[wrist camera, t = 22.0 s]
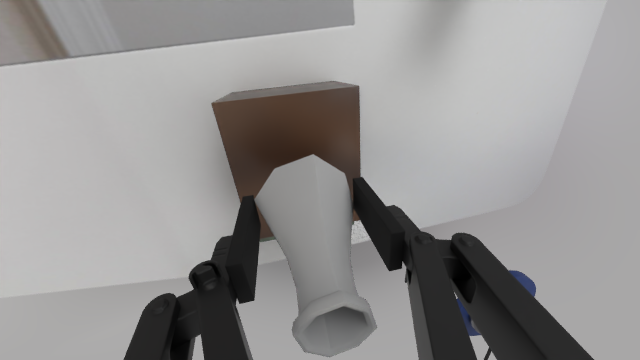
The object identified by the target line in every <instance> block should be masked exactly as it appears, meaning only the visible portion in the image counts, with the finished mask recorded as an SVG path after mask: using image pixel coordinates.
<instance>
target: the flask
mask: <svg viewBox="0 0 640 360" xmlns="http://www.w3.org/2000/svg"><path fill="white" fill-rule="evenodd" d="M254 201H255V202H256V204H257V206H258V208H259V210H260V212H261V213H262V215H263V217H264V219H265V221H266V223H267V224H268V226H269V228H270V230H271V232H272V233H273V235H274V237H275V238H276V240H277V242H278V243H279V245H280V247H281V249H282V250H283V252H284V254H285V256H286V258H287V260H288V264H289V266H290V270H291V273H292V276H293V280H294V282H295V286H296V291H297V300H298V308H299V315H298V317H297V318H296V319H295V321H294V322H293V327H292V332H293V336H294V338H295V339H296V341H297V342H298V344H299V345H300V346H301V348H302V349H303V351H304V352H308V353H312V354H317V355H322V356H326V357H331V356H334V355H337V354H339V353H341V352H344V351H347V350H349V349H352V348H355V347H357V346H359V345H360V344H361V343H362V342H363V341H364V340H365V339H366V338H367V337H368V336H369V335H370V334H371V333H372V332H373V331H374V330H375V329H376V328H377V325H376V322H375V320H374V317H373V314H372V311H371V308H370V306H369V303H368V302H367V301H366V299H364V298H362V297H359V295H358V293H357V290H356V287H355V284H354V278H353V271H352V265H351V259H350V254H351V230H352V220H353V211H354V203H353V199H352V196H351V193H350V189H349V186H348V183H347V179H346V176H345V173H343V172H341V171H340V170H338V169H337V168H335V167H333V166H332V165H330V164H328V163H327V162H325V161H323V160H322V159H320V158H319V157H317V156H315V155H314V154H312V155H310V156H307V157H304V158H302V159H299V160H296V161H294V162H291V163H288V164H286V165H283V166H280V167H277V168H275V169H274V170H273V172H272V173H271V175H270V176H269V178H268V179H267V181H266V182H265V184H264V185H263V187H262V189H261V190H260V192H259V193H258V195H257V196H256V198H255V199H254Z"/></svg>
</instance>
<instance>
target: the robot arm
mask: <svg viewBox="0 0 640 360" xmlns="http://www.w3.org/2000/svg"><path fill="white" fill-rule="evenodd" d="M353 203H354V210H355V212H356V213H357V215H358V217H359V219H360V220H361V222H362V224H363V226H364V228H365V229H366V231H367V233H368V235H369V236H370V238H371V240H372V242H373V244H374V245H375V247H376V249H377V251H378V252H379V254H380V256H381V258H382V259H383V261H384V263H385V265H386V267H387V268H388V270H389V271H392V270H397V269H401V268H402V261H403V262H404V264H405V265H406V277H405V283H408V290H409V297H410V304H411V310H412V317H413V324H414V330H415V337H416V344H417V350H418V357H419V360H477V358H476V355H475V352H474V349H473V346H472V343H471V340H470V337H469V334H468V331H467V328H466V326H465V323H464V320H463V317H462V314H461V311H460V308H459V305H458V302H457V299H456V296H455V294H456V295H457V297H458V298H459V300H460V302H461V303H462V305H463V306H464V308H465V310H466V311H467V313H468V314H469V323H470V324H471V325H472V327H473V328H474V329H475V330H476V331H477V332H478V333H479V334H481V335H482V336H483V338H484V340H485V341H486V343H487V344H488V346H489V349H488V351H487V354H486V356H485V358H484V360H488V358H489V355H490V353H491V351H492V352H493V354H494V355H495V357H496V359H497V360H594V359H593V358H592V357H591V356H590V355H589V354H588V353H587V352H586V351H585V350H584V349H583V348H582V347H581V346H580V345H579V344H578V343H577V341H576V340H575V339H574V338H573V337H572V336H571V335H570V334H569V333H568V332H567V331H566V330H565V329H564V328H563V327H562V326H561V325H560V324H559V323H558V322H557V321H556V320H555V319H554V318H553V316H551V314H550V313H549V312H548V311H547V310H546V309H545V308H544V307H543V306H542V305H541V304H540V303H539V302H538V301H537V300H536V299H535V298H534V297H533V296H532V295H531V294H530V292H529V291H528V290H527V289H526V288H525V287H524V286H523V285H522V284H521V283H520V282H519V281H518V280H517V279H516V278H515V277H514V276H513V275H512V274H511V273H510V272H509V271H508V270H507V269H506V267H505V266H504V265H502V263H501V262H500V261H499V260H498V259H497V258H496V257H495V256H494V255H493V254H492V253H491V252H490V251H489V250H488V249H487V248H486V247H485V246H484V245H483V244H482V242H481V241H480V240H478V239H477V238H476V237H474V236H472V235H470V234H466V233H456V234H454V235H453V236H452V239H451V240H439V239H435V238H434V237H433V236H432V235H431V234H429V233H426V232H421V231H420V230H419V229H418V227H417V226H416V225H415V224H414V223H413V222H412V221H411V220H410V219H409V217H408V216H407V215H405V213H404V212H403V211H402V210H401V209H400V208H398V207H397V206H395V205H392V206H387V207H386V206H385V205H384V203H383V202H382V201H381V200H380V198H379V197H378V196H377V195H376V193H375V192H374V191H373V190H372V188H371V187H370V186H369V185H368V184H367V182H366V181H365V180H364V179H363V177H359V178H353ZM260 231H261V223H260V219H259V215H258V211H257V207H256V204H255V201H254V196H253V195H250V196H244V197H242V201H241V205H240V209H239V213H238V217H237V221H236V225H235V228H234V232H233V235H231V236H226V237H222V238H221V239H220V240H219V241H218V242H217V243H216V246H215V249H214V252H213V255H212V258H211V260H208V261H205V262H202V263H200V264H198V265H197V266H196V267H194V268H193V269H192V271H191V272H190V274H189V280H190V282H191V284H192V286H193V288H194V289H193V290H192V291H190V292H188V293H186V294H184V295H181V296H179V297H177V298H176V296H175V295H174V294H171V293H167V294H163V295H160V296H158V297H156V298H155V299H154V300H152V301H151V302H150V303H149V304H148V305H147V306H146V307H145V309H144V310H143V312H142V315H141V317H140V320H139V322H138V325H137V327H136V330H135V333H134V335H133V338H132V340H131V343H130V345H129V347H128V350H127V352H126V355H125V358H124V360H192V356H193V349H194V343H195V337H196V336H198V335H200V334H201V338H202V346H203V353H204V360H253V358H252V355H251V352H250V349H249V345H248V342H247V339H246V336H245V333H244V330H243V326H242V323H241V320H240V317H239V313H238V310H237V308H236V299H238V301H239V304H241V303H246V302H250V301H254V298H255V287H256V275H257V265H258V254H259V243H260ZM453 290H454V291H453ZM454 292H455V294H454Z"/></svg>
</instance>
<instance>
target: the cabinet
mask: <svg viewBox="0 0 640 360" xmlns="http://www.w3.org/2000/svg"><path fill="white" fill-rule="evenodd" d="M211 104H212V107H213V111H214V114H215V117H216V121H217V124H218V127H219V131H220V134H221V138H222V141H223V144H224V148H225V151H226V155H227V158H228V161H229V165H230V168H231V172H232V175H233V178H234V182H235V185H236V189H237V192H238V195H239V199H240V202H241V201H242V197H244V196H250V195H253V196H254V199H255V198H256V196H257V195H258V193H259V192H260V190H261V189H262V187H263V185H264V184H265V182H266V181H267V179H268V178H269V176H270V175H271V173H272V172H273V170H274V169H275V168H277V167H280V166H283V165H286V164H288V163H291V162H294V161H296V160H299V159H302V158H304V157H307V156H310V155H312V154H314V155H315V156H317V157H319V158H320V159H322V160H323V161H325V162H327V163H328V164H330V165H332V166H333V167H335V168H337V169H338V170H340V171H341V172H343V173H345V176H346V179H347V183H348V186H349V189H350V193H351V196H352V199H353V178H359V177H360V106H359V86H357V85H352V84H347V83H342V82H337V81H330V82H321V83H312V84H303V85H294V86H285V87H276V88H268V89H259V90H250V91H241V92H232V93H230V94H228V95H226V96H224V97H222V98H221V99H219V100H217V101H215V102H213V103H211ZM255 204H256V202H255ZM256 207H257V211H258V215H259V219H260V223H261V231H260V239H262V238H267V237H273V236H274V235H273V233H272V232H271V230H270V228H269V226H268V224H267V223H266V221H265V219H264V217H263V215H262V213H261V212H260V210H259V208H258V206H257V204H256ZM358 220H360V219H359V217H358V215H357V213H356V212H355V210H354V211H353V220H352V222H353V221H358Z"/></svg>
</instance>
